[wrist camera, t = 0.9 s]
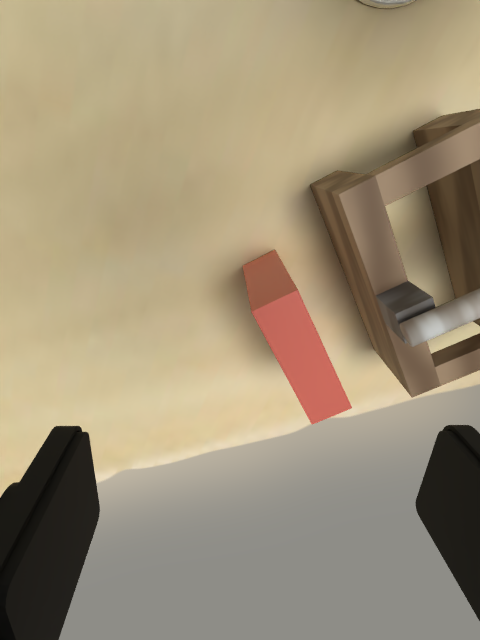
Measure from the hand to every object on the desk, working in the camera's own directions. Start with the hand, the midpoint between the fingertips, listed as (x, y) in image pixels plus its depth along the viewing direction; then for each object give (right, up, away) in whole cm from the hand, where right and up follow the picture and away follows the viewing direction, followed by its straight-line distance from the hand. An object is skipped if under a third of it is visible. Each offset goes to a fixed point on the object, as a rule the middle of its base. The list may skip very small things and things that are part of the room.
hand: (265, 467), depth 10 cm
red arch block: (+4, +6, +33) cm, 34 cm away
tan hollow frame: (+18, +12, +31) cm, 37 cm away
